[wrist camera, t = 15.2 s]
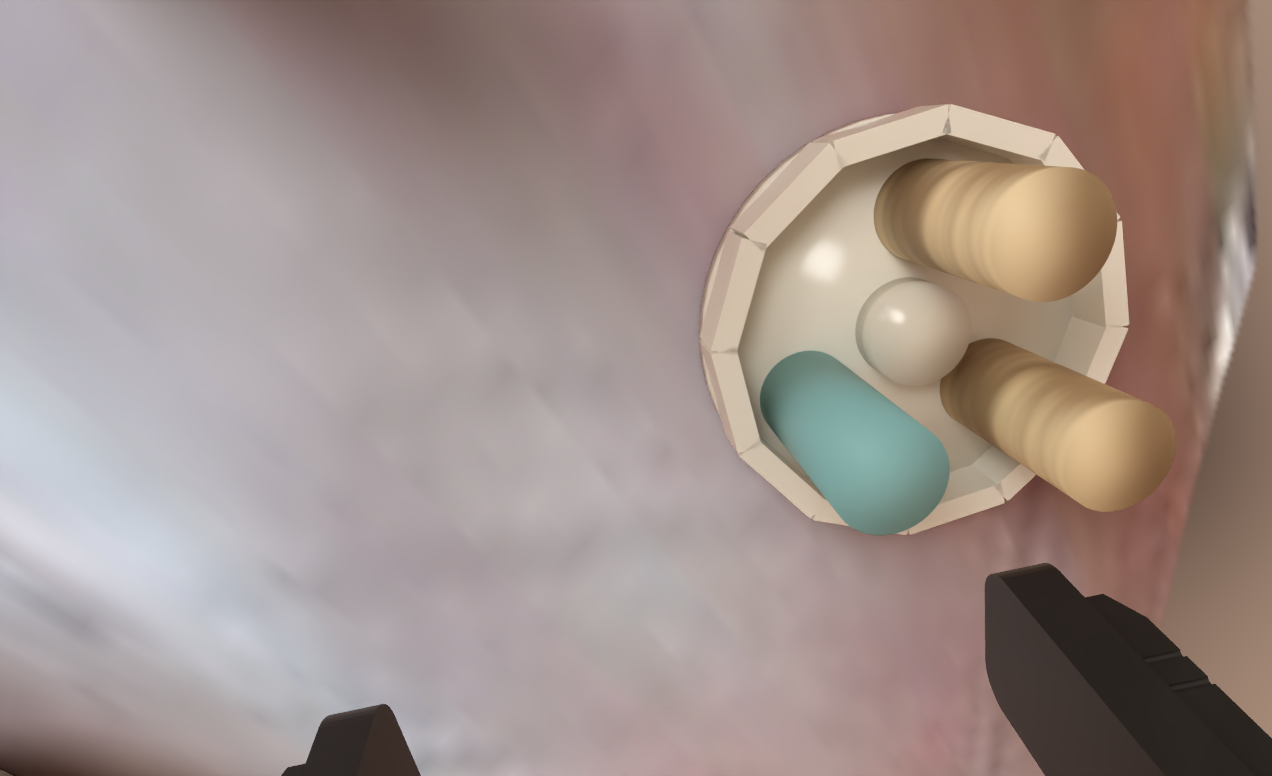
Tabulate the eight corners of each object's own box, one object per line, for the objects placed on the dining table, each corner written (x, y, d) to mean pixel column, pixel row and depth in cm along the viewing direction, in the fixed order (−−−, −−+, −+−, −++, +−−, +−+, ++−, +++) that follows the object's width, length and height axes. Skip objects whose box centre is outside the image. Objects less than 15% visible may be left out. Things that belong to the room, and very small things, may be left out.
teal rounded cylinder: (770, 451, 40) (842, 550, 31) (750, 366, 39) (820, 444, 29) (858, 424, 40) (956, 514, 31) (842, 338, 39) (941, 407, 29)
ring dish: (751, 547, 43) (771, 583, 40) (650, 186, 36) (664, 191, 33) (1092, 433, 44) (1140, 458, 40) (1056, 57, 37) (1111, 49, 34)
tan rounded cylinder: (883, 273, 38) (1000, 319, 29) (865, 175, 36) (983, 190, 27) (974, 243, 38) (1122, 279, 29) (960, 145, 37) (1112, 149, 27)
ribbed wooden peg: (947, 437, 41) (1071, 526, 32) (933, 355, 40) (1059, 424, 30) (1031, 409, 42) (1179, 490, 32) (1020, 326, 40) (1173, 385, 30)
